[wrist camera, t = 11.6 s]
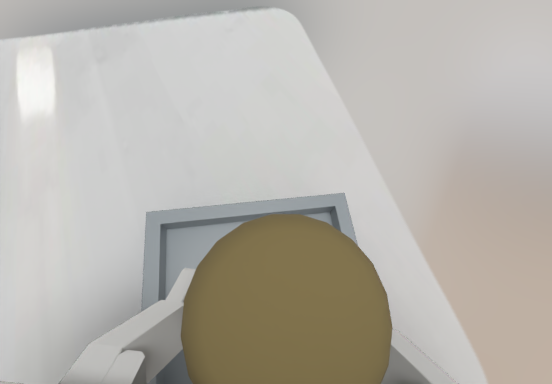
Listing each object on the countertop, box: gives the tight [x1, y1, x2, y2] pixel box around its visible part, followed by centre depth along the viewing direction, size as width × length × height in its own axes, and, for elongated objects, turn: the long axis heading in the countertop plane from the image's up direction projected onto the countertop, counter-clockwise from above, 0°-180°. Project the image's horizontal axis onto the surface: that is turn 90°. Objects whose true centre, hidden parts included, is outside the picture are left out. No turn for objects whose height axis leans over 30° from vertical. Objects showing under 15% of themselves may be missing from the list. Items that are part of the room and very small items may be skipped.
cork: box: [181, 214, 393, 384], centre depth 10 cm, size 6×6×11 cm
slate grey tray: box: [141, 193, 358, 384], centre depth 18 cm, size 15×15×2 cm
